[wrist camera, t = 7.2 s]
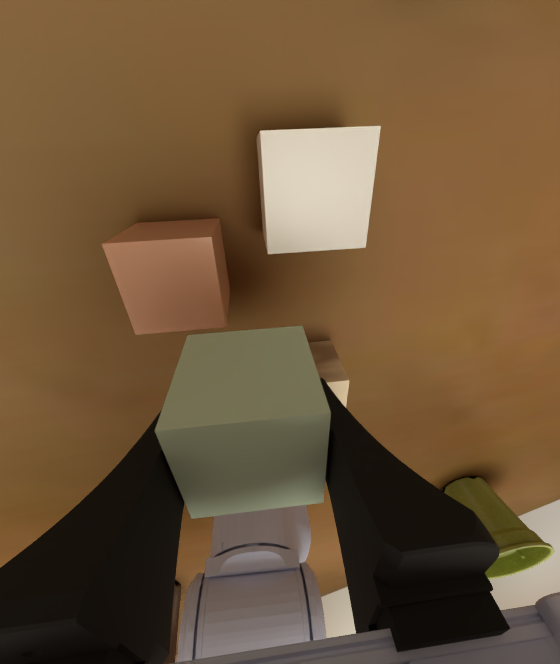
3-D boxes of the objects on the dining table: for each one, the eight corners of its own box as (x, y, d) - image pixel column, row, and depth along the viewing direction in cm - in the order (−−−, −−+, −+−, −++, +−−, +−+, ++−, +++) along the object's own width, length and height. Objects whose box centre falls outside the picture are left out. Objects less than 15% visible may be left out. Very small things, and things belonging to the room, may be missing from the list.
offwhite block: (344, 134, 16) (380, 125, 12) (338, 227, 18) (365, 247, 14) (256, 138, 15) (260, 130, 11) (262, 231, 18) (267, 254, 14)
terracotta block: (219, 217, 17) (211, 236, 13) (230, 291, 20) (226, 327, 16) (137, 222, 17) (101, 243, 13) (159, 296, 20) (135, 334, 15)
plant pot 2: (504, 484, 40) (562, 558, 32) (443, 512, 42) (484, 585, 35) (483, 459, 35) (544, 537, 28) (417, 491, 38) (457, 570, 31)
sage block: (302, 325, 12) (331, 413, 8) (301, 405, 15) (323, 502, 11) (187, 335, 12) (154, 430, 8) (208, 414, 15) (191, 518, 10)
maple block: (330, 339, 23) (349, 380, 19) (327, 384, 26) (343, 428, 22) (271, 345, 23) (276, 387, 19) (274, 389, 26) (279, 435, 21)
